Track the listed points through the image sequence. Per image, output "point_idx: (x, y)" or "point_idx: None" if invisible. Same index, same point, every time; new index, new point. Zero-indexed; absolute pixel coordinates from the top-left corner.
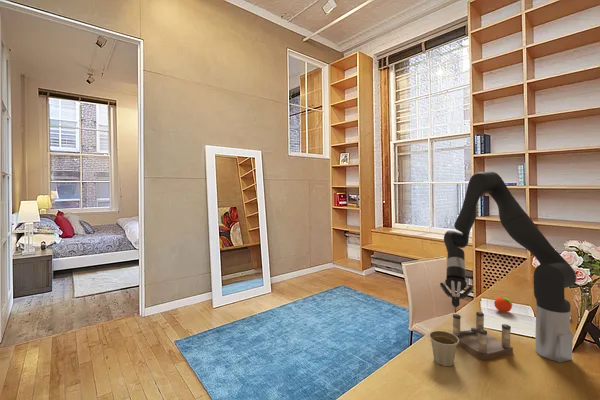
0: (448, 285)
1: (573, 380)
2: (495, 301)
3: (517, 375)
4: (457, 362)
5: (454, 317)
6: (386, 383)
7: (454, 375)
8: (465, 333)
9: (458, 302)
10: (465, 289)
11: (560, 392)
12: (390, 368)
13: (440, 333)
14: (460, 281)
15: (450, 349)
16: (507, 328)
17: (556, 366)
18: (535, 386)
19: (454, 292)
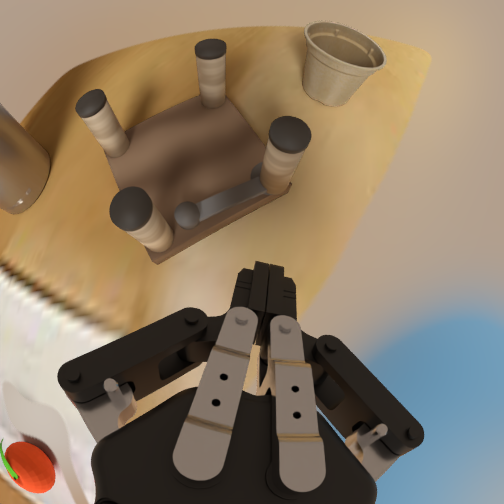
0: (340, 438)
1: (64, 91)
2: (43, 481)
3: (162, 68)
4: (292, 86)
5: (303, 126)
6: (409, 56)
7: (306, 54)
8: (234, 187)
9: (243, 284)
10: (135, 406)
11: (117, 52)
12: (417, 82)
13: (355, 70)
14: (170, 495)
15: (324, 36)
16: (96, 91)
17: (53, 127)
18: (150, 52)
19: (276, 350)
